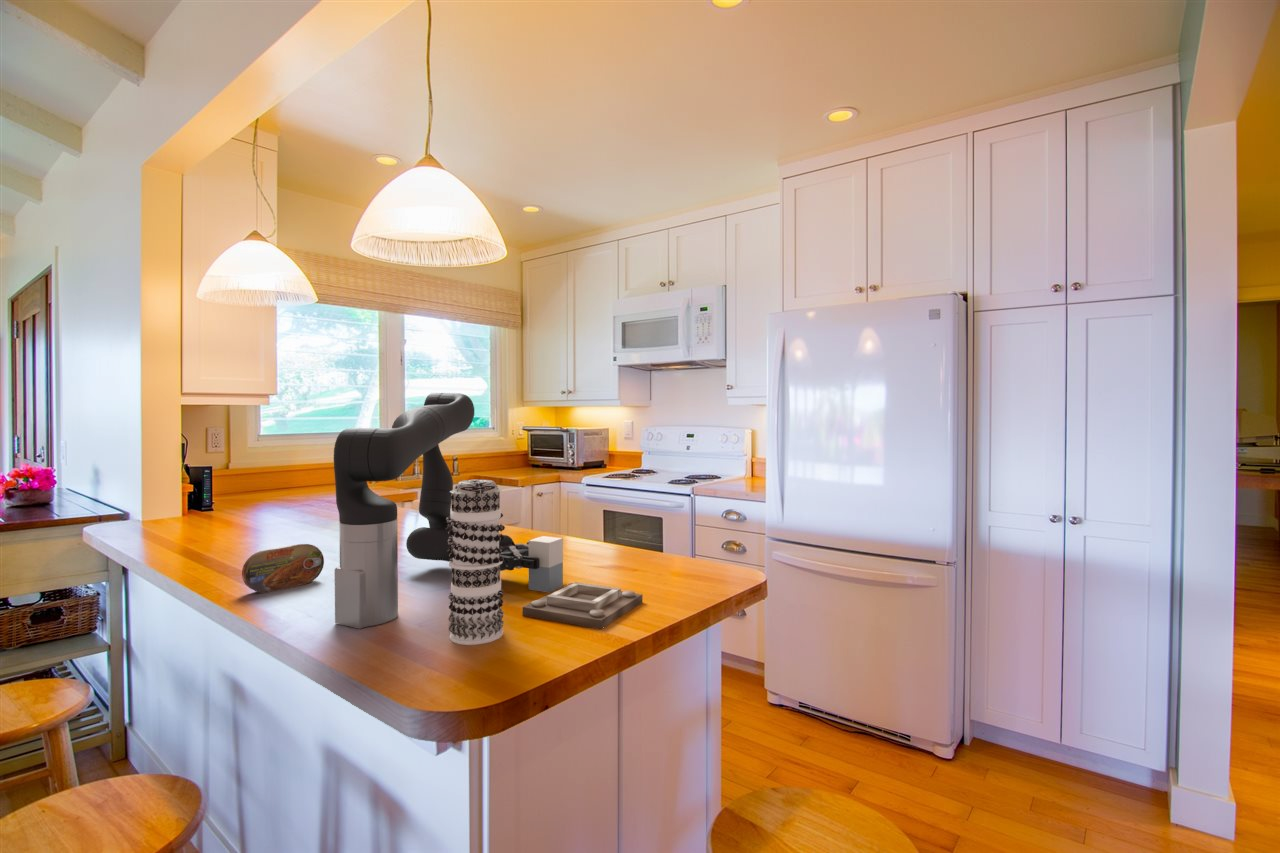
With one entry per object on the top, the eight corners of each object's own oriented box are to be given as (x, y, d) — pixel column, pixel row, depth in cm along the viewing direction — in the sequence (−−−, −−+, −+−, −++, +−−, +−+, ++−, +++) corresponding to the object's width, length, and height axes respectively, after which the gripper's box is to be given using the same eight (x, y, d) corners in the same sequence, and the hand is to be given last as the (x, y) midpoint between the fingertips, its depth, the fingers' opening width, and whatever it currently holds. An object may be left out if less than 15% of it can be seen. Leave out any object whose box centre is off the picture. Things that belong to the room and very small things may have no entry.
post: (549, 592, 121) (549, 542, 121) (528, 589, 123) (528, 540, 123) (562, 586, 125) (562, 538, 125) (542, 583, 128) (542, 536, 127)
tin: (246, 597, 118) (245, 554, 118) (239, 594, 120) (239, 552, 119) (325, 580, 130) (324, 541, 129) (318, 578, 132) (317, 539, 131)
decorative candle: (444, 629, 100) (443, 479, 100) (500, 622, 104) (500, 477, 103) (448, 649, 92) (447, 485, 91) (510, 640, 95) (509, 482, 95)
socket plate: (601, 629, 100) (601, 611, 100) (522, 615, 107) (522, 598, 107) (642, 602, 115) (642, 586, 115) (570, 591, 122) (570, 576, 122)
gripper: (464, 540, 124) (530, 547, 117) (508, 528, 137) (569, 534, 130) (465, 576, 124) (530, 586, 117) (508, 560, 137) (569, 568, 130)
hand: (550, 558), depth 124 cm, fingers open, 8 cm apart
